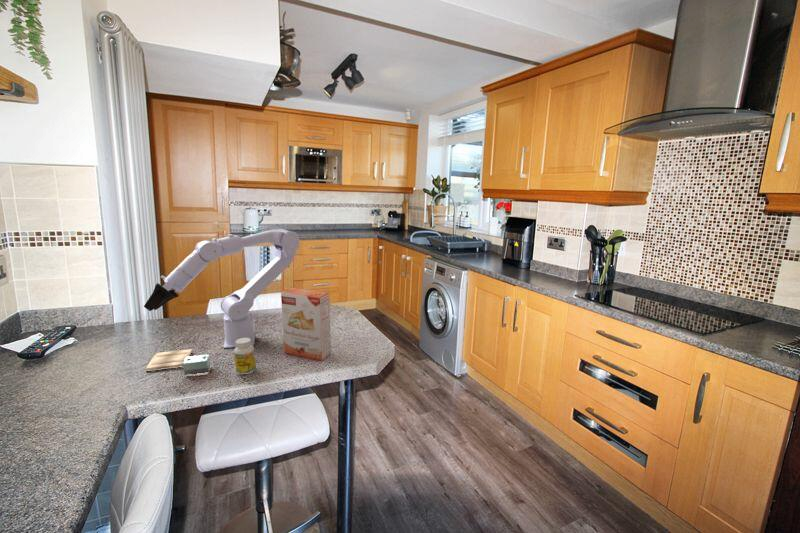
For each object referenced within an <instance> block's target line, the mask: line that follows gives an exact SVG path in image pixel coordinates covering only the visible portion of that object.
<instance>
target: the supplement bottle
mask: <svg viewBox="0 0 800 533" xmlns="http://www.w3.org/2000/svg"><path fill="white" fill-rule="evenodd" d="M233 356H234V365H235V366H234V367H235V372H237V373H239V374H246V373H250V372H252V371H254V370H255V371H256V370H257V368H256V367H257V366H256V355H255V348H254V345H251V340H250V338H240V339H238V340H236V347H234V350H233ZM255 371H254V372H255ZM237 373H236V374H237ZM252 373H253V372H252ZM239 374H238V375H239ZM250 374H251V373H250Z"/></svg>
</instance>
